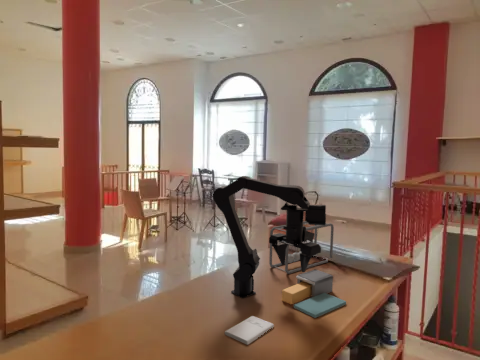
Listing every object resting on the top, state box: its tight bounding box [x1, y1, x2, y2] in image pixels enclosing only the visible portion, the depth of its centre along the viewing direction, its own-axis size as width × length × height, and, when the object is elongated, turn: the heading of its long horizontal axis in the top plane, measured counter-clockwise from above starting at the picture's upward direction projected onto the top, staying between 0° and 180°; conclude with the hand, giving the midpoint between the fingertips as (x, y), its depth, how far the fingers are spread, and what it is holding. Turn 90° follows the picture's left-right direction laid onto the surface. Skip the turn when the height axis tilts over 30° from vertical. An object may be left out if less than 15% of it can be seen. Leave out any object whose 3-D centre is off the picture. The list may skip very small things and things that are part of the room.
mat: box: [293, 293, 347, 319], centre depth 124 cm, size 16×9×1 cm, turn 129°
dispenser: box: [295, 269, 334, 298], centre depth 135 cm, size 11×8×6 cm
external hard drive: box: [224, 315, 275, 346], centre depth 107 cm, size 2×8×12 cm
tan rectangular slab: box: [281, 281, 312, 305], centre depth 130 cm, size 13×4×4 cm, turn 134°
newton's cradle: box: [268, 220, 335, 275], centre depth 164 cm, size 30×10×18 cm, turn 129°
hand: (293, 268), depth 127 cm, fingers open, 9 cm apart
